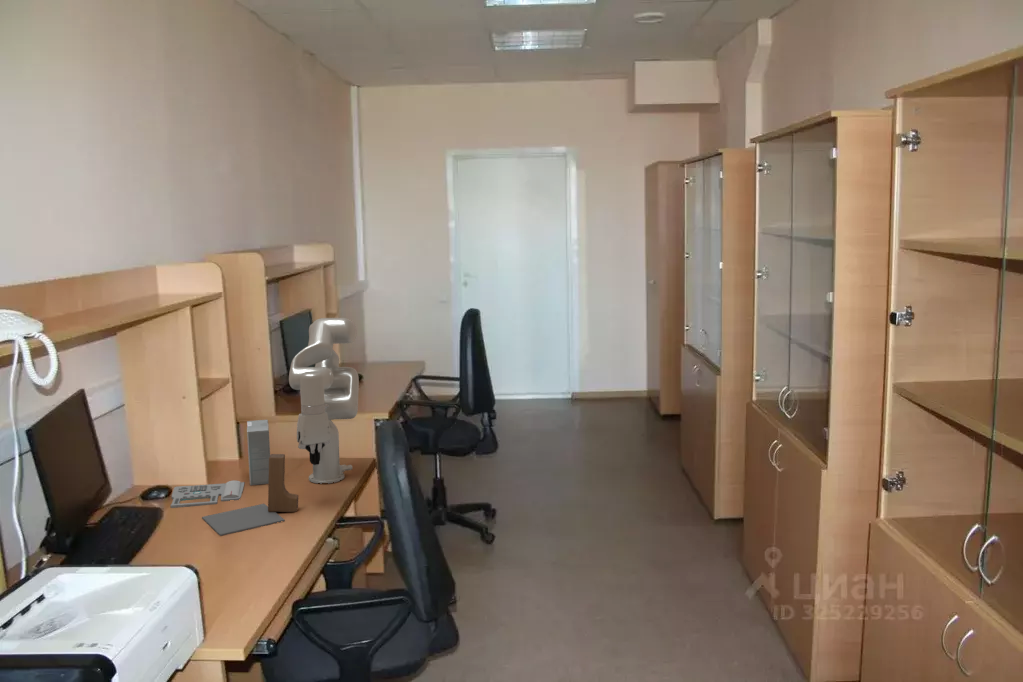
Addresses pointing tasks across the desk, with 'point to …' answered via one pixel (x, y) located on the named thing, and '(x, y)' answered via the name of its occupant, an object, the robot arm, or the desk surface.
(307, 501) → the desk surface
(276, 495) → the wooden block
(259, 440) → the hard drive box
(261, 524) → the mat
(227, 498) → the office telephone
